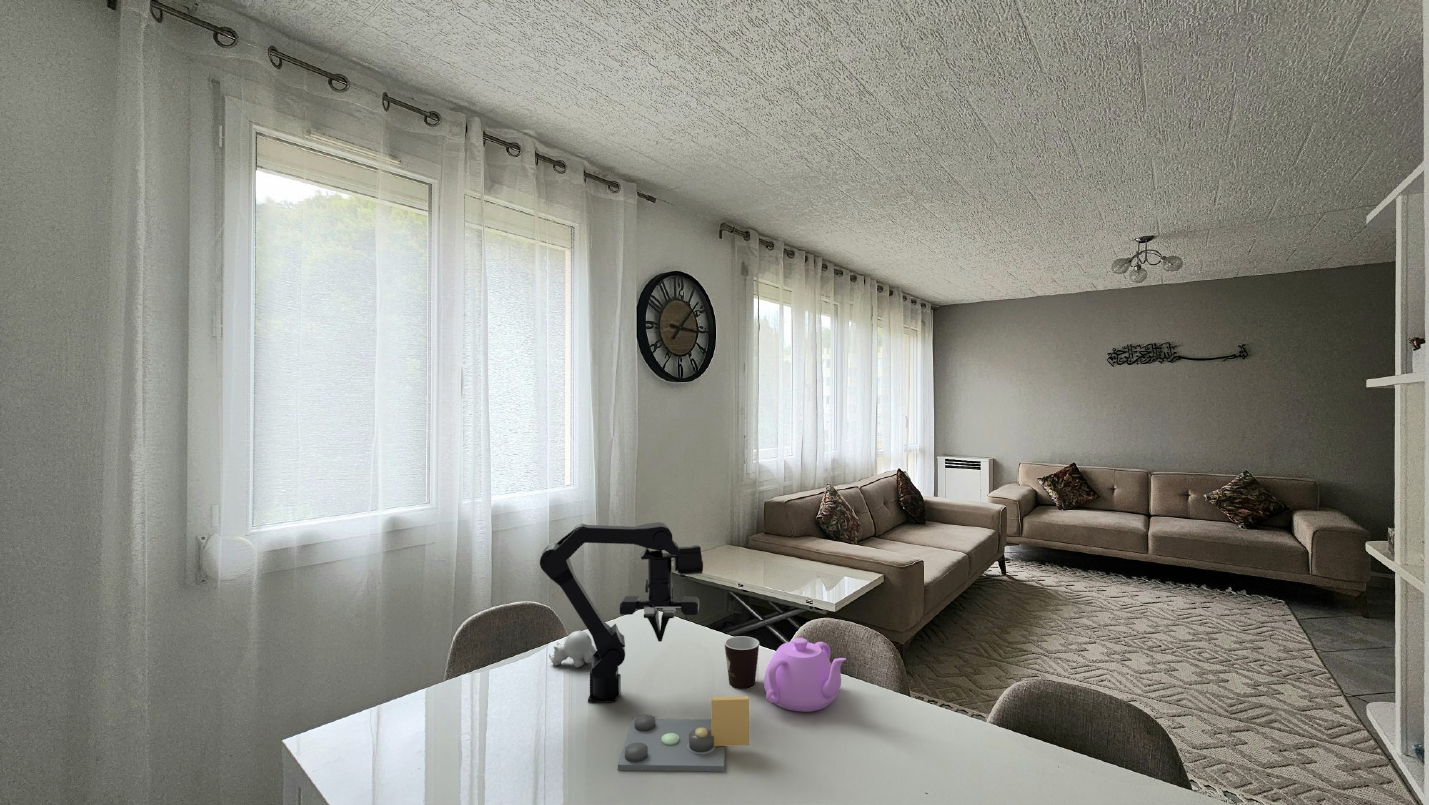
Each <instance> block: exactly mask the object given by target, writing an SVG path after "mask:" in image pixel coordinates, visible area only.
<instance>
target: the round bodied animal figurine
mask: <svg viewBox="0 0 1429 805" xmlns="http://www.w3.org/2000/svg"><path fill="white" fill-rule="evenodd" d="M564 641H565V642H564V644H562V643H561V644H560V643H559V642H556V646H553V654H552V655H551V653H549V654H548V658H549V659H550V661H551V663H552V665H553V666H560V665H561V664H562V662H564V661H566V660H567V659H568V658H570V659H572V661H573V666H574V667H575V668H577V669H578V668H581V667H582V666H583V665H584V664H585V663H586V664H588V663H592V655H593V654H594V653H595V652H596V651H597V649H596V647H595V645H593V642H592V641H593V640H592V638H591V636H590V635H589V633H587V632H586V631H583V630H575V631H573V632H570V633H569V635H568V636H567V637H566V639H565V640H564Z"/></svg>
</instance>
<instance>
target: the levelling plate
mask: <svg viewBox="0 0 1429 805" xmlns="http://www.w3.org/2000/svg"><path fill="white" fill-rule="evenodd" d="M697 728H706V729H709V730H711V718H656V717H655V716H654V715H652V714H649V713H647V714H646V713H644V714H640V715H637V716H636V717H635V718H634V717H633V719H632V721H631V724H630V727H629V729H628V733H627V736H626V740H625V742H624V744H623V749H622V751H621V754H620V757H619V760H618V763H617V770H618V771H661V772H662V771H664V772H665V771H668V772H669V771H670V772H675V771H676V772H677V771H678V772H679V771H680V772H725V758H726V757H725V755H726V752H725V751H726V749H725V748H726V746H714V747H713V748H712V749H711V750H709V751H707V752H695V751H693V750H691V749H690V748H689V733H690V732H691V731H692V730H694V729H697Z"/></svg>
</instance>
